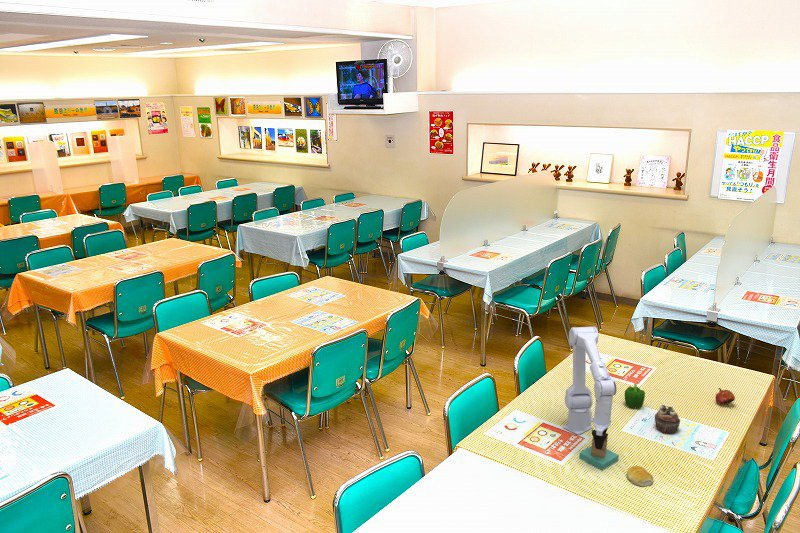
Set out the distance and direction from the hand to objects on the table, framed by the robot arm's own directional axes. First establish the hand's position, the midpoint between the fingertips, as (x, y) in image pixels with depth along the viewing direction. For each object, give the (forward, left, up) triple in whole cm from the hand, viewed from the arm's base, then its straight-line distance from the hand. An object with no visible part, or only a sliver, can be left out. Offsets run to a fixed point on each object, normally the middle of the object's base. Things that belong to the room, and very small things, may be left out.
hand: (600, 443), depth 227 cm
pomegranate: (-79, +9, -7) cm, 80 cm away
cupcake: (-40, +4, -7) cm, 41 cm away
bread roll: (-1, +16, -7) cm, 18 cm away
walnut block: (0, 0, -4) cm, 4 cm away
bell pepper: (-47, -15, -7) cm, 50 cm away
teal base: (0, 0, -7) cm, 7 cm away
